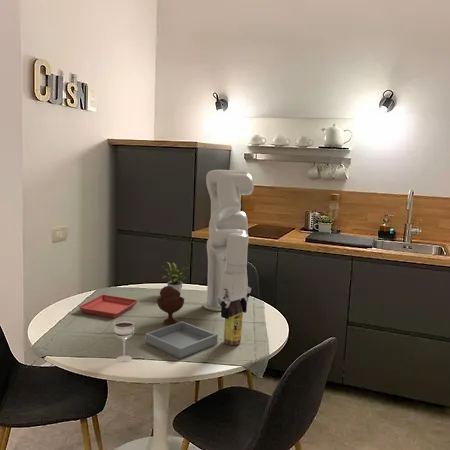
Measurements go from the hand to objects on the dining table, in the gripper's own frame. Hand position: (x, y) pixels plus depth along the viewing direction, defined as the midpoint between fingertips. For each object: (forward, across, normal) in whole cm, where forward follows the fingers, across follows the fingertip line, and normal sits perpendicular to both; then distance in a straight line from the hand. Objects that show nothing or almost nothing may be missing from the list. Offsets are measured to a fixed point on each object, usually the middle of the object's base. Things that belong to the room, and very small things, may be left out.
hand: (233, 314), depth 173 cm
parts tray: (+11, +14, -12) cm, 21 cm away
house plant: (+10, -21, -55) cm, 60 cm away
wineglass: (+11, +36, -16) cm, 41 cm away
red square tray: (+11, +12, -58) cm, 60 cm away
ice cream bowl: (+10, +3, -30) cm, 32 cm away
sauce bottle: (+11, 0, 0) cm, 11 cm away
